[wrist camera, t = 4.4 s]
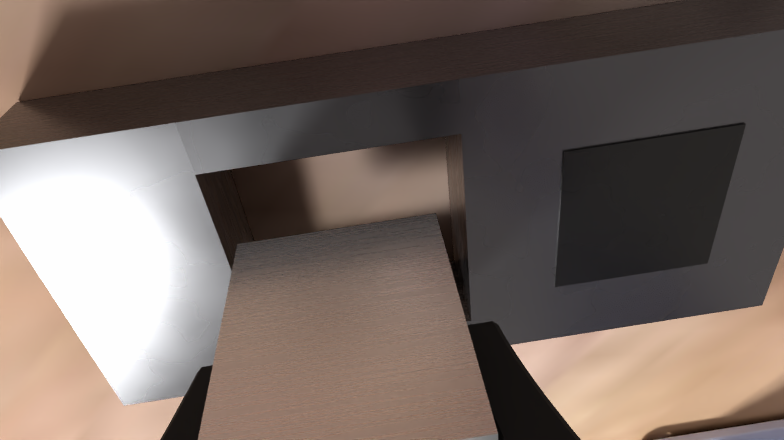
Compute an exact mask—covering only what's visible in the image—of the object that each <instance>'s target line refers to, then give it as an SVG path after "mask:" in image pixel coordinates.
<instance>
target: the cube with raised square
mask: <svg viewBox="0 0 784 440" xmlns="http://www.w3.org/2000/svg"><path fill="white" fill-rule="evenodd" d="M198 440H498V432H497V428H496V425H495V421H494V418H493V414H492V411H491V407H490V403H489V400H488V396H487V393H486V389H485V386H484V382H483V379H482V375H481V372H480V368H479V365H478V361H477V358H476V354H475V350H474V347H473V343H472V340H471V336H470V333H469V329H468V326H467V322H466V319H465V315H464V312H463V308H462V305H461V301H460V297H459V294H458V290H457V287H456V283H455V280H454V276H453V273H452V269H451V266H450V262H449V259H448V255H447V252H446V248H445V245H444V241H443V237H442V234H441V230H440V227H439V223H438V220H437V216H436V213H435V214H428V215H422V216H415V217H409V218H402V219H396V220H389V221H383V222H377V223H370V224H364V225H357V226H351V227H344V228H338V229H331V230H325V231H318V232H312V233H306V234H299V235H293V236H286V237H280V238H273V239H267V240H260V241H254V242H247V243H241V244H237V248H236V253H235V258H234V263H233V268H232V273H231V278H230V283H229V288H228V293H227V298H226V303H225V307H224V312H223V317H222V322H221V327H220V332H219V337H218V342H217V347H216V352H215V357H214V362H213V367H212V372H211V377H210V382H209V387H208V392H207V397H206V402H205V407H204V412H203V417H202V422H201V426H200V431H199V436H198Z"/></svg>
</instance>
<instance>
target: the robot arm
mask: <svg viewBox="0 0 784 440" xmlns="http://www.w3.org/2000/svg"><path fill="white" fill-rule="evenodd" d="M467 326H468V329H469V333H470V336H471V340H472V343H473V347H474V350H475V354H476V358H477V361H478V365H479V368H480V372H481V375H482V379H483V382H484V386H485V389H486V393H487V396H488V400H489V403H490V407H491V411H492V414H493V418H494V421H495V425H496V428H497V432H498V440H581V439H580V438H579V437H578V436H577V435H576V433H575V432H574V431H573V430H572V429H571V427H570V426H569V425H568V424H567V422H566V421H565V420H564V418H563V417H562V416H561V415H560V413H559V412H558V411H557V410H556V408H555V407H554V406H553V405H552V403H551V402H550V401H549V399H548V398H547V397H546V396H545V394H544V393H543V391H542V390H541V389H540V387H539V386H538V385H537V383H536V382H535V381H534V379H533V378H532V376H531V375H530V374H529V372H528V371H527V369H526V368H525V366H524V365H523V364H522V362H521V361H520V359H519V358H518V356H517V355H516V353H515V352H514V350H513V348H512V347H511V345H510V344H509V342H508V340H507V339H506V337H505V335H504V334H503V332H502V330H501V328H500V327H499V325H498V324H496V323H495V322H493V321H489V322H483V323H477V324H470V325H467ZM212 367H213V365H211V366H204V367H201V368H200V370H199V371H198V372H197V374H196V376H195V378H194V380H193V381H192V383H191V385H190V387H189V389H188V391H187V393H186V394H185V396H184V398H183V400H182V402H181V404H180V406H179V407H178V409H177V411H176V413H175V415H174V417H173V418H172V420H171V422H170V424H169V426H168V427H167V429H166V431H165V433H164V434H163V436H162V438H161V440H198V436H199V431H200V426H201V422H202V417H203V412H204V407H205V402H206V397H207V392H208V387H209V382H210V377H211V372H212ZM655 440H784V419H781V420H775V421H768V422H762V423H756V424H749V425H743V426H737V427H731V428H724V429H718V430H712V431H705V432H699V433H693V434H687V435H680V436H674V437H668V438H661V439H655Z"/></svg>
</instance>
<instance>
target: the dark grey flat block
mask: <svg viewBox="0 0 784 440" xmlns="http://www.w3.org/2000/svg"><path fill="white" fill-rule="evenodd" d="M444 136H445V144H446V158H447V171H448V185H449V199H450V213H451V227H452V241H453V254H454V261H449V262H450V266H451V269H452V273H453V276H454V280H455V283H456V287H457V290H458V294H459V297H460V301H461V305H462V308H463V312H464V315H465V319H466V322H467V325H470V324H477V323H483V322H489V321H493V322H495V323H496V324H498V325H499V327H500V328H501V330H502V332H503V334H504V335H505V337H506V339H507V340H508V342H509V344H510V345H512V344H519V343H525V342H531V341H538V340H544V339H551V338H557V337H563V336H570V335H576V334H582V333H589V332H595V331H601V330H608V329H614V328H620V327H627V326H633V325H640V324H646V323H652V322H659V321H665V320H671V319H678V318H684V317H690V316H697V315H703V314H709V313H716V312H722V311H729V310H735V309H741V308H748V307H754V306H760V305H762V304H763V301H764V299H765V296H766V293H767V291H768V288H769V285H770V283H771V280H772V277H773V275H774V272H775V269H776V266H777V264H778V261H779V258H780V256H781V253H782V250H783V248H784V0H685V1H678V2H672V3H665V4H659V5H652V6H646V7H639V8H632V9H626V10H619V11H613V12H606V13H600V14H593V15H587V16H580V17H573V18H567V19H560V20H554V21H547V22H541V23H534V24H527V25H521V26H514V27H508V28H501V29H495V30H488V31H482V32H475V33H468V34H462V35H455V36H449V37H442V38H436V39H429V40H422V41H416V42H409V43H403V44H396V45H390V46H383V47H377V48H370V49H363V50H357V51H350V52H344V53H337V54H331V55H324V56H317V57H311V58H304V59H298V60H291V61H285V62H278V63H272V64H265V65H258V66H252V67H245V68H239V69H232V70H226V71H219V72H212V73H206V74H199V75H193V76H186V77H180V78H173V79H166V80H160V81H153V82H147V83H140V84H134V85H127V86H121V87H114V88H107V89H101V90H94V91H88V92H81V93H75V94H68V95H61V96H55V97H48V98H42V99H35V100H29V101H22V102H17V103H16V104H15V105H13V106H12V107H11V108H10V109H9V110H8V111H7V112H6V113H5V114H4V115H3V116H2V117H1V118H0V216H1V218H2V220H3V221H4V223H5V224H6V226H7V227H8V229H9V230H10V232H11V233H12V235H13V236H14V238H15V239H16V241H17V243H18V244H19V246H20V247H21V249H22V250H23V252H24V253H25V255H26V256H27V258H28V259H29V261H30V262H31V264H32V265H33V267H34V269H35V270H36V272H37V273H38V275H39V276H40V278H41V279H42V281H43V282H44V284H45V285H46V287H47V288H48V290H49V292H50V293H51V295H52V296H53V298H54V299H55V301H56V302H57V304H58V305H59V307H60V308H61V310H62V311H63V313H64V315H65V316H66V318H67V319H68V321H69V322H70V324H71V325H72V327H73V328H74V330H75V331H76V333H77V334H78V336H79V338H80V339H81V341H82V342H83V344H84V345H85V347H86V348H87V350H88V351H89V353H90V354H91V356H92V357H93V359H94V361H95V362H96V364H97V365H98V367H99V368H100V370H101V371H102V373H103V374H104V376H105V377H106V379H107V380H108V382H109V384H110V385H111V387H112V388H113V390H114V391H115V393H116V394H117V396H118V397H119V399H120V400H121V402H122V403H123V405H124V406H125V405H131V404H137V403H144V402H150V401H156V400H163V399H169V398H175V397H182V396H185V394H186V393H187V391H188V389H189V387H190V385H191V383H192V381H193V380H194V378H195V376H196V374H197V372H198V371H199V370H200V368H201V367H204V366H211V365H213V362H214V357H215V352H216V347H217V342H218V337H219V332H220V327H221V322H222V317H223V312H224V307H225V303H226V298H227V293H228V288H229V283H230V278H231V273H232V268H233V263H234V258H235V253H236V248H237V244H241V243H247V242H254V240H253V237H252V234H251V231H250V228H249V225H248V222H247V219H246V216H245V213H244V210H243V207H242V204H241V201H240V198H239V195H238V192H237V189H236V186H235V183H234V180H233V177H232V174H231V171H230V169H236V168H242V167H249V166H255V165H262V164H268V163H275V162H281V161H288V160H294V159H301V158H307V157H314V156H320V155H327V154H333V153H340V152H346V151H353V150H359V149H366V148H372V147H379V146H385V145H392V144H398V143H405V142H411V141H418V140H424V139H431V138H437V137H444Z"/></svg>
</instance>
